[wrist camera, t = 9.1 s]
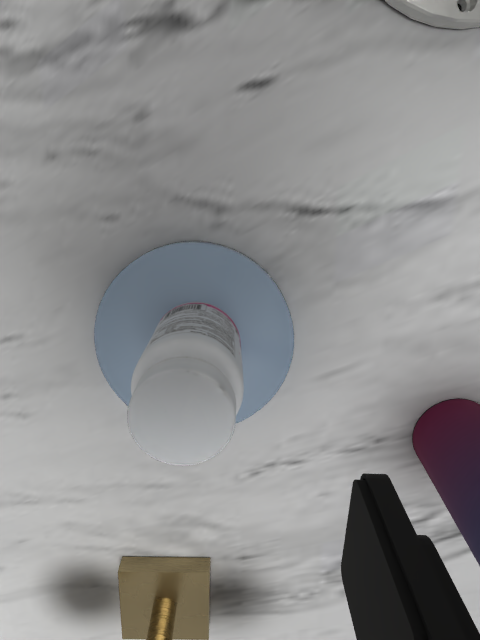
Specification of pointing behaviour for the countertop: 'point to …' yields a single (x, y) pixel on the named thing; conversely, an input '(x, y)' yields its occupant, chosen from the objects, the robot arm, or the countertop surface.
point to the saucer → (196, 286)
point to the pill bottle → (187, 386)
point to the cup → (454, 461)
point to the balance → (164, 598)
